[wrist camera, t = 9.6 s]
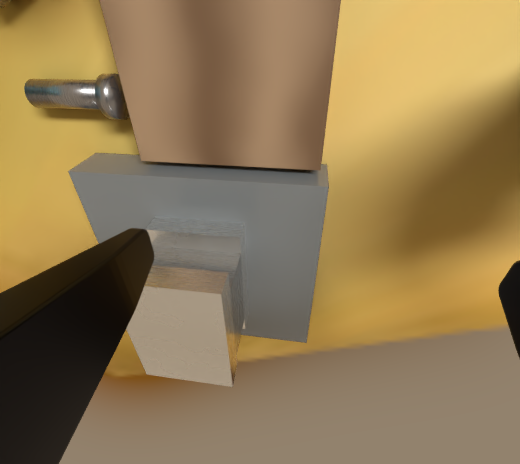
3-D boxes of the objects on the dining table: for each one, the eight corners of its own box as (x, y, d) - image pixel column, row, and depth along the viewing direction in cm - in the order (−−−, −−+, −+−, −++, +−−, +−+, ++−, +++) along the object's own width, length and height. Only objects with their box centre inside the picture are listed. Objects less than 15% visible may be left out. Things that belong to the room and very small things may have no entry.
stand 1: (349, -98, 12) (354, -113, 11) (319, 156, 19) (320, 170, 17) (102, -85, 14) (74, -96, 12) (154, 148, 20) (141, 160, 19)
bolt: (126, 70, 18) (103, 78, 16) (136, 113, 19) (116, 124, 17) (36, 69, 18) (4, 76, 16) (53, 110, 20) (25, 121, 18)
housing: (244, 223, 19) (221, 294, 14) (248, 313, 25) (232, 386, 20) (155, 216, 20) (105, 281, 15) (178, 305, 25) (146, 374, 20)
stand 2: (326, 164, 19) (328, 186, 17) (307, 314, 28) (306, 342, 26) (95, 152, 21) (68, 171, 19) (146, 296, 30) (131, 321, 28)
